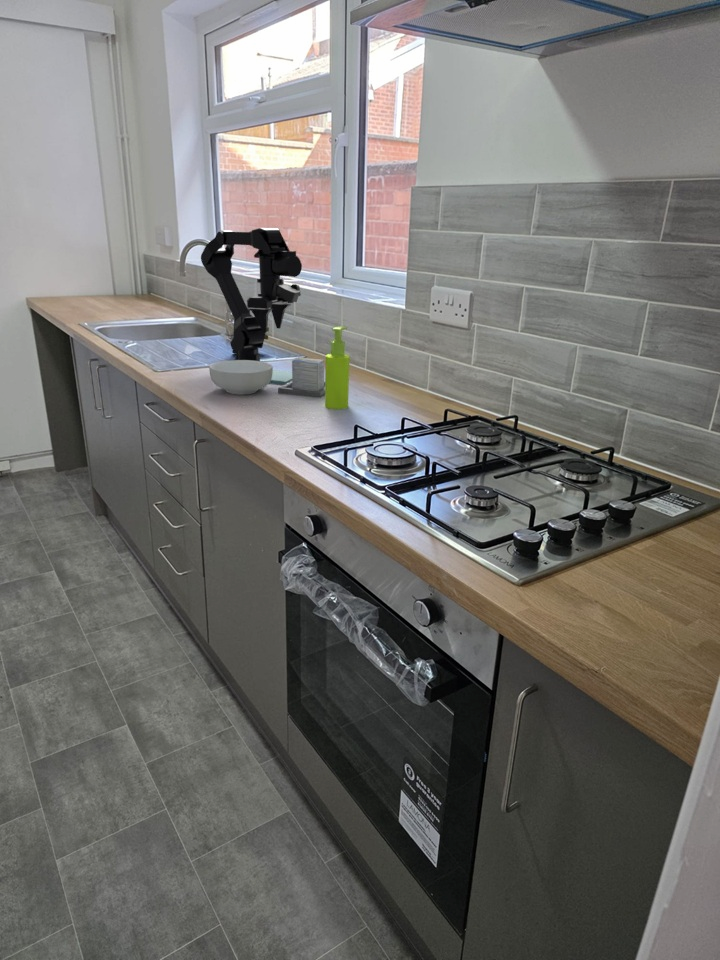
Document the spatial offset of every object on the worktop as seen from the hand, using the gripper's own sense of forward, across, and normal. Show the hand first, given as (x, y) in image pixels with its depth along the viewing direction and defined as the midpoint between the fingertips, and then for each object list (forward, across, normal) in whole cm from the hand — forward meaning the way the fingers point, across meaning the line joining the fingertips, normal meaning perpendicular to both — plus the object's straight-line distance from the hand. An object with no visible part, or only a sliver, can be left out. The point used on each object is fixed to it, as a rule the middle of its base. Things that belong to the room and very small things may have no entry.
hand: (271, 330), depth 191 cm
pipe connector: (+12, +24, +21) cm, 35 cm away
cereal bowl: (+14, -22, -1) cm, 26 cm away
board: (+13, -5, -3) cm, 14 cm away
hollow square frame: (+14, -14, -17) cm, 26 cm away
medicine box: (+14, -14, -17) cm, 26 cm away
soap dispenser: (+14, -25, -30) cm, 42 cm away
